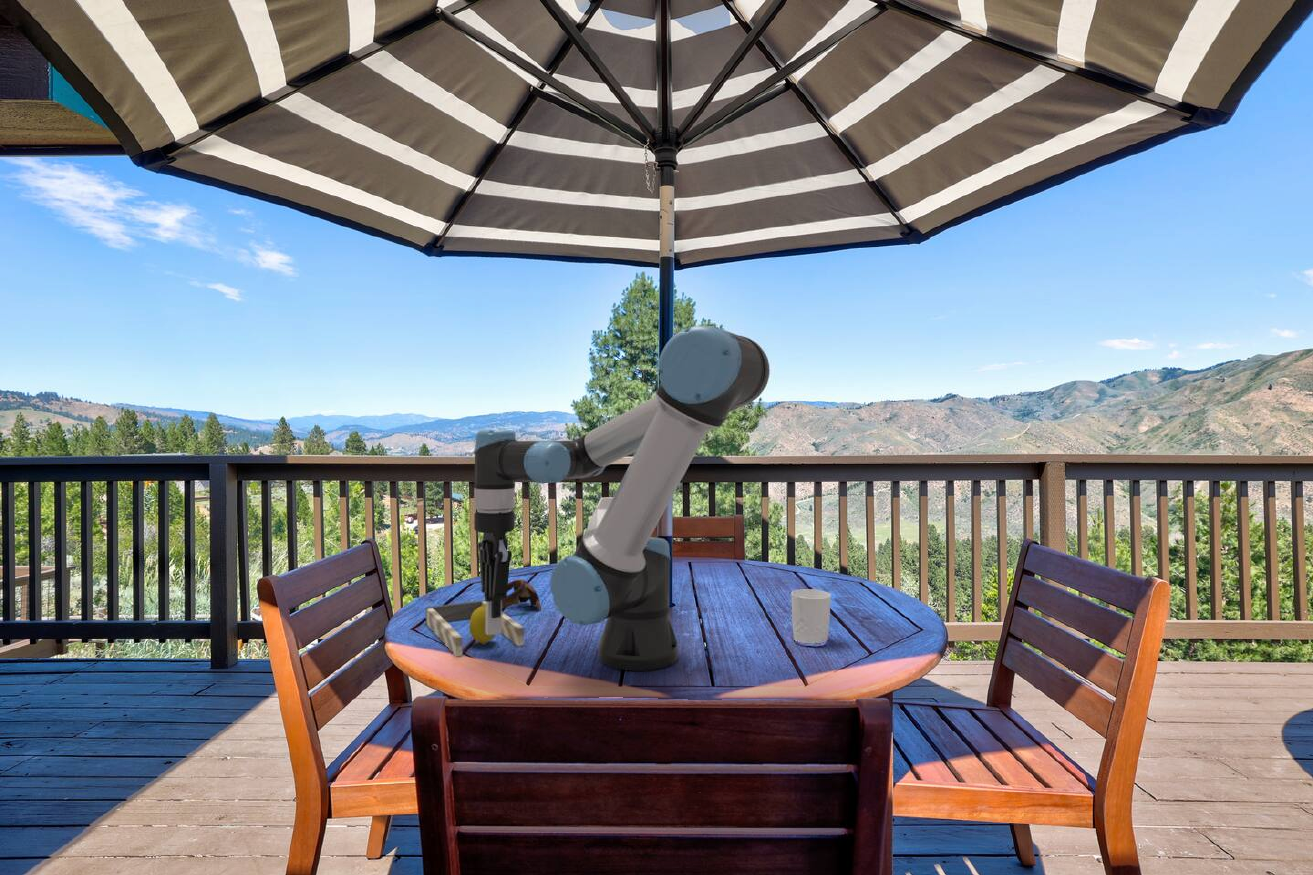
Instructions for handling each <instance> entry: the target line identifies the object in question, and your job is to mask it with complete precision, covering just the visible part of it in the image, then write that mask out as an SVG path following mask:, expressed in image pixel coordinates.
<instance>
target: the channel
mask: <svg viewBox="0 0 1313 875" xmlns="http://www.w3.org/2000/svg"><path fill="white" fill-rule="evenodd" d="M482 605H486V601H485V599H483V600H475V601H474V600H473V601H467V602H466V601H465V602H459V603H458V602H457V603H451V604H445V605H444V604H443V605H435V606H426V607H425V624H426V625H427V626H428V628H429V629H430V630H431V631H432V632H433V631H434V632H433V633H434V634H435V635H436V637H437V638H438V637H439V638H440V639H439V638H438V639H439V640H440V641H441V642H442V641H443V642H444V643H445V644H444V643H443V642H442V643H443V644H444V645H445V647H446V648H447V647H448V648H449V649H448V648H447V649H448V650H449V651H450V653H452V652H453V653H452V655H454V657H455V658H457V656H458V657H462V656H463V636H461V635H460V634H459V632H458V631H457V630H456V629H454V627H452V625H450V624H449V623H448V622H455V621H463V620H464V621H465V620H469V619H471V616H472V613H473V612H474V611H475V610H476V609H477V608H479V607H481V606H482ZM524 633H525V627H523V626H522V625H520V624H519V623H518V622H517V621H516V620H514V619H513V618H512V617H510V616H508V615H507V614H505V613H504V612H503V611H502V633H501V634H502V635H503V636H505V637H506V638H507V639H508V640H510V641H511V642H512V643H513V644H514V645H516V646H517V647H522V646H524V642H525V639H524V637H525V634H524Z"/></svg>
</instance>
